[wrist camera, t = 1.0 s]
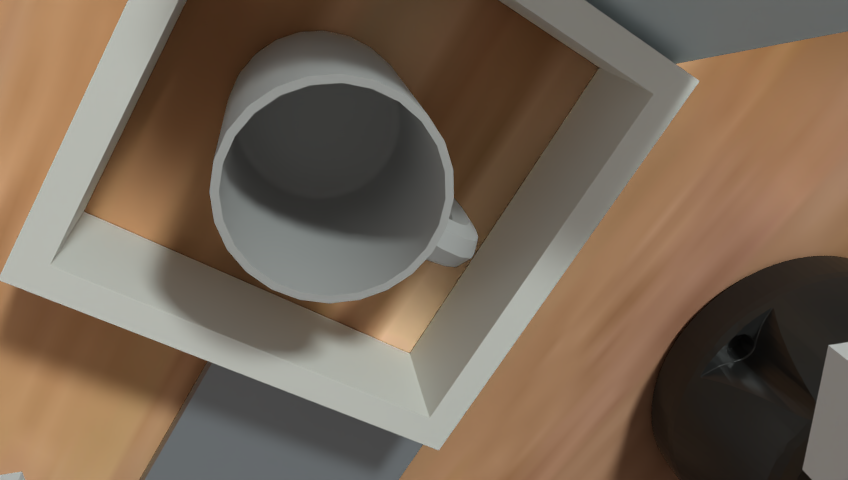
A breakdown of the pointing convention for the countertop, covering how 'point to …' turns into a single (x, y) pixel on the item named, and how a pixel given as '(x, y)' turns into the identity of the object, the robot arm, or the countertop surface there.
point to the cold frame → (484, 276)
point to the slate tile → (271, 437)
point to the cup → (332, 173)
